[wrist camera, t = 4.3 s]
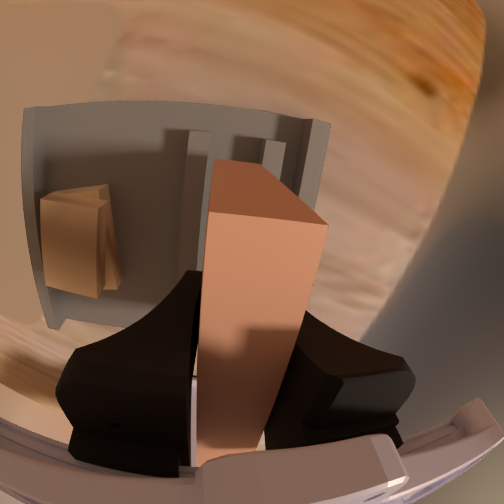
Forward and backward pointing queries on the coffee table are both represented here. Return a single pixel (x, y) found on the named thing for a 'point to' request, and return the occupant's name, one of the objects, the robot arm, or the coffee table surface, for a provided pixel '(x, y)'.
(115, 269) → the block
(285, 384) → the robot arm
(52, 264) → the offcut top
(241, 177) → the panel
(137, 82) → the coffee table surface
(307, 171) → the rack
